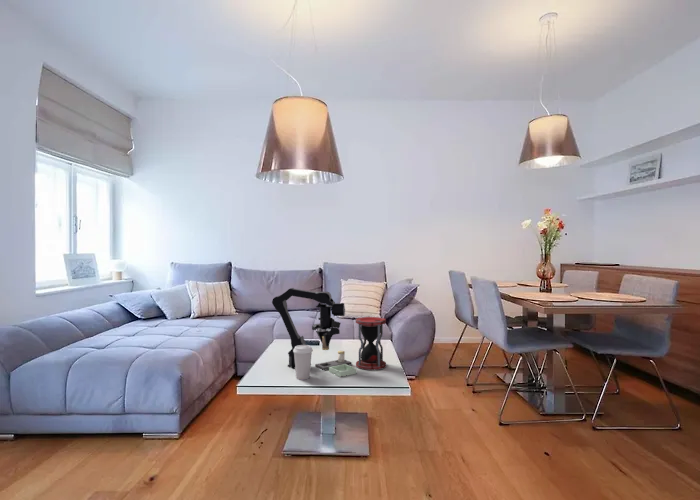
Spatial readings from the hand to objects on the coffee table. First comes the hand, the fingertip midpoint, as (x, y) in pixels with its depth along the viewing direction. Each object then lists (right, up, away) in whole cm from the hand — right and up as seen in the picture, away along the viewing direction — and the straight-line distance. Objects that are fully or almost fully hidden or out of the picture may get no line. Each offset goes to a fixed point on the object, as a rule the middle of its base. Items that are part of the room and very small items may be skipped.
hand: (325, 345), depth 217 cm
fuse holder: (+4, -12, +3) cm, 13 cm away
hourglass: (+24, -12, +2) cm, 27 cm away
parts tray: (+9, -12, -9) cm, 17 cm away
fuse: (+8, -12, +6) cm, 15 cm away
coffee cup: (-10, -12, -17) cm, 23 cm away
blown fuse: (0, -2, 0) cm, 2 cm away
